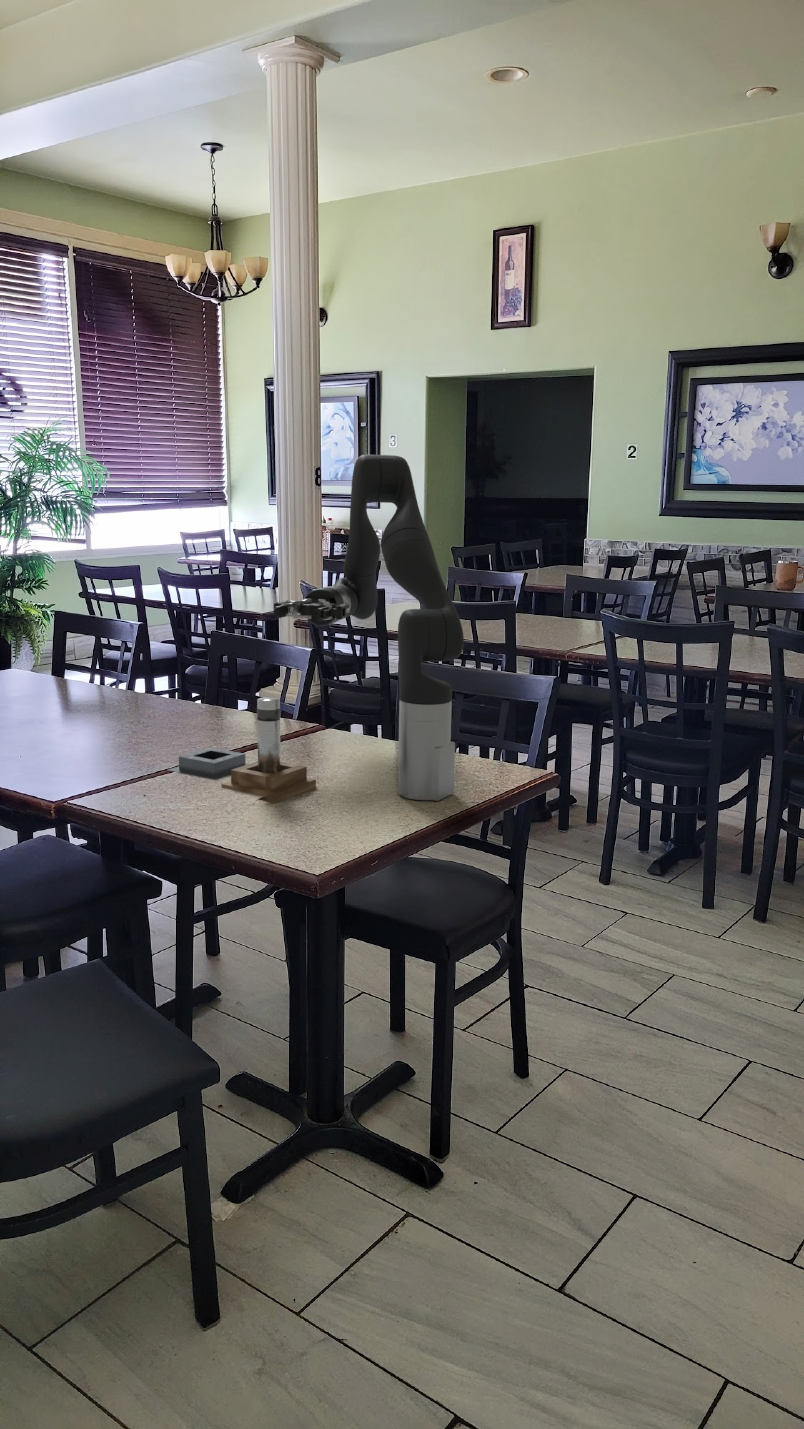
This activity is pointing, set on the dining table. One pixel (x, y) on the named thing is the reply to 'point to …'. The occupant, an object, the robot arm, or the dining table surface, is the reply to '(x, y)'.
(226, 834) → the dining table surface
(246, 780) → the brown wooden square holder
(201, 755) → the socket
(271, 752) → the clear test tube
